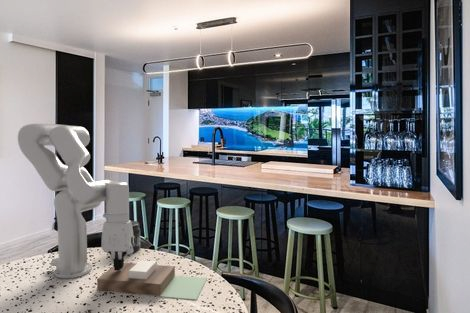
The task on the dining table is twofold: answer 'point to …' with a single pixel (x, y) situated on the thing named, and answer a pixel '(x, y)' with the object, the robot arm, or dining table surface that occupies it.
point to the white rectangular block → (142, 269)
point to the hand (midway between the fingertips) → (118, 268)
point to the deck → (136, 281)
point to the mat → (184, 287)
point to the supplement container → (136, 235)
